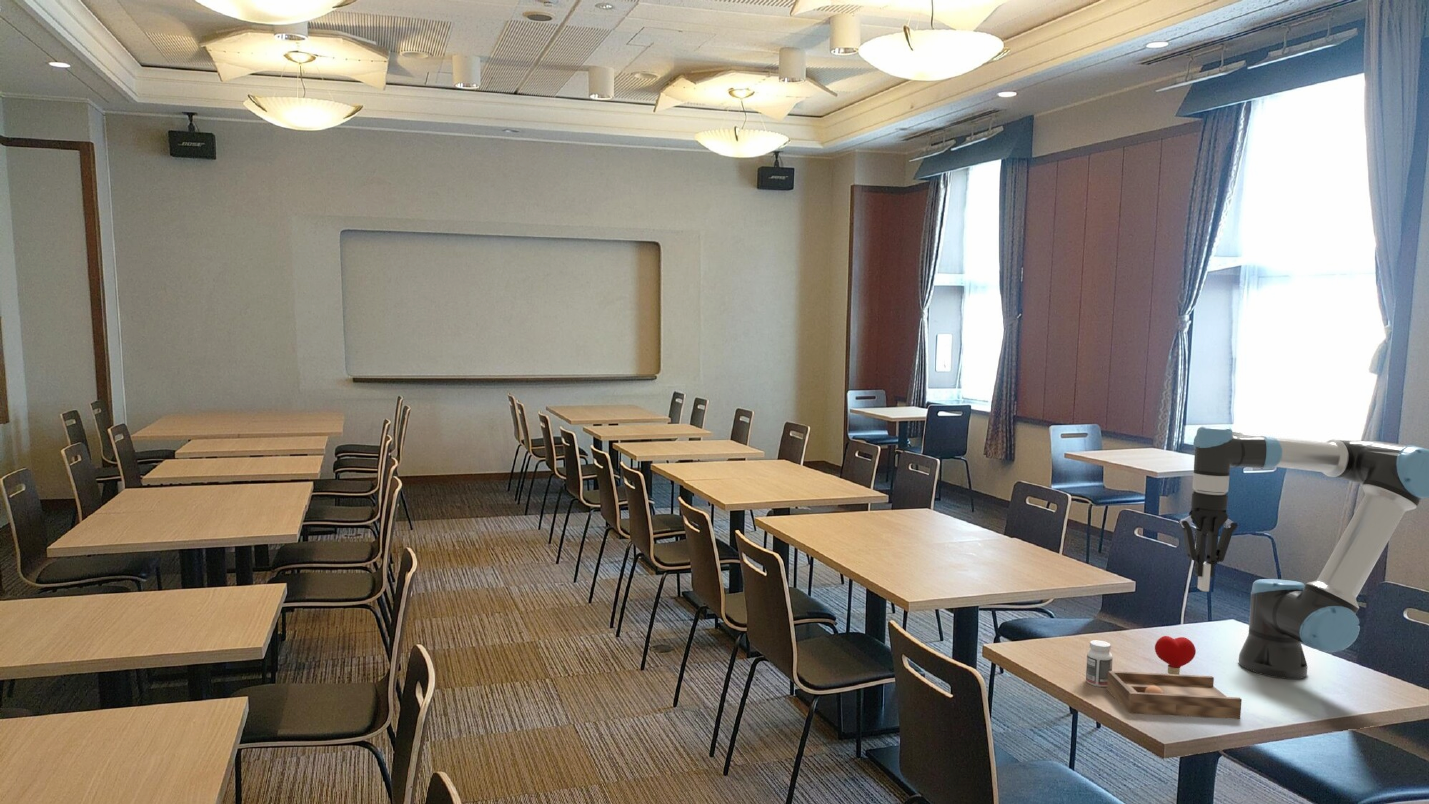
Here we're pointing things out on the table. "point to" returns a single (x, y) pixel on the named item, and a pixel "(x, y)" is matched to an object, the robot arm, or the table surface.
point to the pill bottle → (1098, 663)
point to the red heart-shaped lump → (1175, 652)
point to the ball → (1153, 689)
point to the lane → (1172, 695)
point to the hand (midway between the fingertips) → (1203, 589)
